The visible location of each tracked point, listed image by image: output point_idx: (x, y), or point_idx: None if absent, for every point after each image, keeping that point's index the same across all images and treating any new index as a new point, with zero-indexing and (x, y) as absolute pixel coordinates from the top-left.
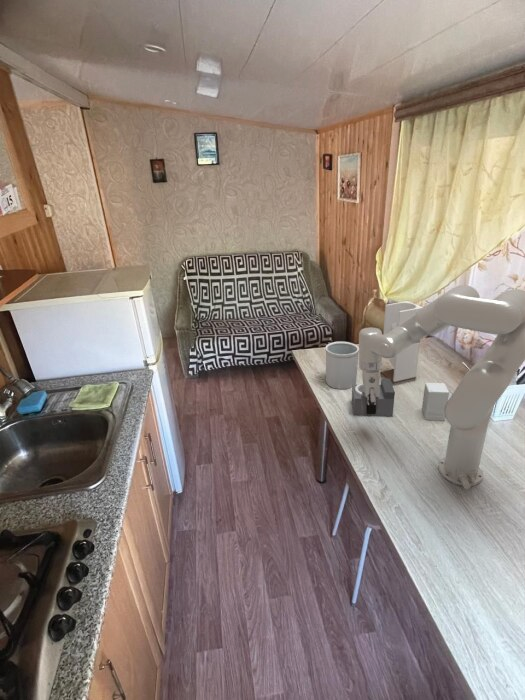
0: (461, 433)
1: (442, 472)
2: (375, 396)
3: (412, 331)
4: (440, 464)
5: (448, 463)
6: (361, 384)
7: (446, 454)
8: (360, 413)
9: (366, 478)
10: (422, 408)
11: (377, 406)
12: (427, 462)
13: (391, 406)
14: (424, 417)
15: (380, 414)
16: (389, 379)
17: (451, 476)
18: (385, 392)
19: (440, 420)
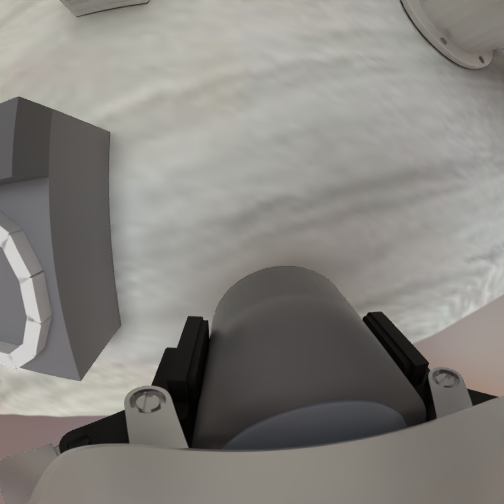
0: None
1: (477, 65)
2: (388, 417)
3: None
4: (451, 50)
5: (495, 44)
6: None
7: (492, 31)
8: (111, 300)
9: (482, 295)
10: (81, 7)
11: (355, 314)
12: (431, 77)
13: (81, 132)
14: (135, 2)
15: (104, 195)
16: None
17: (483, 53)
18: (13, 176)
19: None
